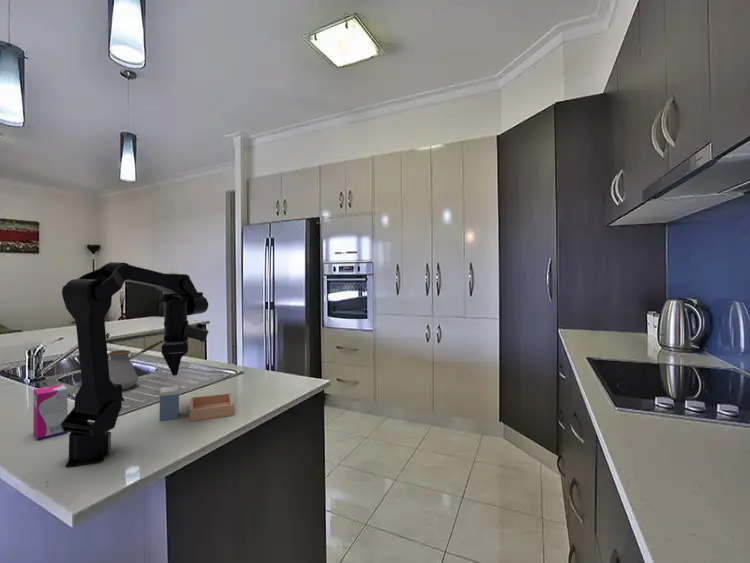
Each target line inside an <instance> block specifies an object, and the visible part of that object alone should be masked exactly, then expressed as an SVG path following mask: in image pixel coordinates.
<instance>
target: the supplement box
mask: <svg viewBox="0 0 750 563" xmlns="http://www.w3.org/2000/svg"><path fill="white" fill-rule="evenodd" d="M68 391H69V390H68V387H67V386H65V385H64V384H63V383H62V384H57V385H50V386H45V387H39V388H33V419H32V420H33V421H32V422H33V426H32V427H33V430H32V431H33V434H34V437H35V439H36V440H37V441H40V440H45V439H49V438H52V437H57V436H61V435H64V434H68V432H63V430H62V427H61V423H62V422H63V421H64V419H65V418H66V417H67V416H68V414H69V413H68V409H69V408H68V406H69V405H68V401H69V399H68V398H69V397H68V396H69V395H68Z"/></svg>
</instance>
